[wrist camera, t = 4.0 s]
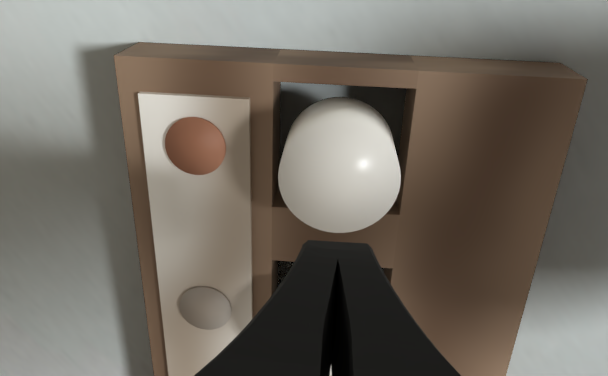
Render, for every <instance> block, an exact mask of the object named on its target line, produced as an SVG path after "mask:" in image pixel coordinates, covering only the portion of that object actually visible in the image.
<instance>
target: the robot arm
mask: <svg viewBox="0 0 608 376" xmlns="http://www.w3.org/2000/svg"><path fill="white" fill-rule="evenodd" d="M330 368H331V369H332V376H461V375H460V374H459V373H458V372H457V371H456V369H455V368H454V367H453V366H452V365H451V364H450V363H449V362H448V361H447V360H446V359H445V357H444V356H443V355H442V354H441V353H440V352H439V350H438V349H437V348H436V347H435V346H434V345H433V343H432V342H431V341H430V340H429V338H428V337H427V336H426V334H425V333H424V332H423V331H422V329H421V328H420V327H419V325H418V324H417V323H416V321H415V320H414V319H413V317H412V316H411V314H410V313H409V312H408V310H407V309H406V307H405V306H404V304H403V303H402V301H401V300H400V298H399V297H398V295H397V294H396V292H395V291H394V289H393V287H392V286H391V284H390V282H389V281H388V279H387V277H386V275H385V274H384V272H383V270H382V268H381V266H380V264H379V262H378V260H377V258H376V256H375V254H374V252H373V249H372V248H371V247H370V246H369V245H368V243H351V242H334V241H318V240H308V241H307V242H305V243H304V244H303V245H302V248H301V250H300V252H299V254H298V256H297V258H296V260H295V262H294V263H293V265H292V267H291V268H290V270H289V271H288V273H287V275H286V276H285V277H284V279H283V280H282V282H281V283H280V285H279V286H278V287H277V289H276V290H275V292H274V293H273V294H272V296H271V297H270V298H269V300H268V301H267V302H266V303H265V304H264V306H263V307H262V308H261V309H260V310H259V312H258V313H257V314H256V315H255V316H254V318H253V319H252V320H251V321H250V322H249V324H248V325H247V326H246V327H245V328H244V329H243V330H242V331H241V332H240V333H239V334H238V335H237V336H236V337H235V338H234V340H233V341H232V342H230V343H229V344H228V345H227V346H226V347H225V348H224V349H223V350H222V351H221V352H220V353H219V354H218V355H217V356H216V357H215V358H214V359H212V360H211V361H210V362H209V363H208V364H207V365H206V366H204V367H203V368H202V369H201V370H200V371H199V372H197V373H196V374H195V375H194V376H329V375H330Z"/></svg>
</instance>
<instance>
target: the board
mask: <svg viewBox="0 0 608 376" xmlns="http://www.w3.org/2000/svg"><path fill="white" fill-rule="evenodd" d="M114 61H115V69H116V77H117V85H118V93H119V101H120V109H121V117H122V125H123V133H124V141H125V149H126V157H127V165H128V173H129V181H130V189H131V197H132V205H133V213H134V220H135V228H136V236H137V244H138V252H139V260H140V268H141V276H142V284H143V292H144V300H145V308H146V316H147V324H148V332H149V340H150V348H151V356H152V364H153V372H154V376H194V375H195V374H196V373H197V372H199V371H200V370H201V369H202V368H203V367H204V366H206V365H207V364H208V363H209V362H210V361H211V360H212V359H214V358H215V357H216V356H217V355H218V354H219V353H220V352H221V351H222V350H223V349H224V348H225V347H226V346H227V345H228V344H229V343H230V342H232V341H233V340H234V338H235V337H236V336H237V335H238V334H239V333H240V332H241V331H242V330H243V329H244V328H245V327H246V326H247V325H248V324H249V322H250V321H251V320H252V319H253V318H254V316H255V315H256V314H257V313H258V312H259V310H260V309H261V308H262V307H263V306H264V304H265V303H266V302H267V301H268V300H269V298H270V297H271V296H272V294H273V293H274V292H275V290H276V289H277V287H278V261H292V262H295V260H296V258H297V256H298V254H299V252H300V250H301V248H302V245H303V244H304V243H305V242H307V241H308V240H318V241H334V242H351V243H368V245H369V246H370V247H371V248H372V249H373V252H374V254H375V256H376V258H377V260H378V262H379V264H380V266H381V268H384V274H385V275H386V277H387V279H388V281H389V282H390V284H391V286H392V287H393V289H394V291H395V292H396V294H397V295H398V297H399V298H400V300H401V301H402V303H403V304H404V306H405V307H406V309H407V310H408V312H409V313H410V314H411V316H412V317H413V319H414V320H415V321H416V323H417V324H418V325H419V327H420V328H421V329H422V331H423V332H424V333H425V334H426V336H427V337H428V338H429V340H430V341H431V342H432V343H433V345H434V346H435V347H436V348H437V349H438V350H439V352H440V353H441V354H442V355H443V356H444V357H445V359H446V360H447V361H448V362H449V363H450V364H451V365H452V366H453V367H454V368H455V369H456V371H457V372H458V373H459V374H460V375H461V376H506V373H507V369H508V365H509V362H510V358H511V355H512V351H513V347H514V344H515V340H516V337H517V333H518V329H519V326H520V322H521V318H522V315H523V311H524V308H525V304H526V300H527V297H528V293H529V290H530V286H531V282H532V279H533V275H534V271H535V268H536V264H537V261H538V257H539V253H540V250H541V246H542V243H543V239H544V235H545V232H546V228H547V224H548V221H549V217H550V214H551V210H552V206H553V203H554V199H555V196H556V192H557V188H558V185H559V181H560V177H561V174H562V170H563V167H564V163H565V159H566V156H567V152H568V149H569V145H570V141H571V138H572V134H573V130H574V127H575V123H576V120H577V116H578V112H579V109H580V105H581V102H582V98H583V94H584V91H585V87H586V83H587V80H588V79H586V78H585V77H583V76H581V75H580V74H578V73H576V72H575V71H573V70H571V69H570V68H568V67H566V66H565V65H563V64H561V63H553V62H533V61H512V60H492V59H472V58H451V57H431V56H410V55H390V54H369V53H349V52H328V51H308V50H287V49H267V48H246V47H226V46H205V45H185V44H164V43H144V42H139V43H137V44H135V45H133V46H131V47H129V48H127V49H125V50H123V51H121V52H120V53H118V54H116V55H114ZM281 82H295V83H314V84H333V85H353V86H372V87H391V88H407V89H406V97H405V105H404V113H403V121H402V129H401V137H400V146H399V154H398V162H399V166H400V173H401V184H400V189H399V193H398V195H397V198H396V200H395V202H394V204H393V205H392V207H391V208H390V210H389V211H388V212H387V213H386V214H385V215H384V216H383V217H382V218H381V219H380V220H378V221H377V222H375V223H374V224H372V225H370V226H368V227H366V228H364V229H361V230H358V231H353V232H347V233H332V232H326V231H322V230H318V229H316V228H313V227H311V226H309V225H307V224H305V223H304V222H302V221H301V220H300V219H298V218H297V217H296V216H295V215H294V214H293V213H292V212H291V211H290V210H289V208H288V207H287V205H286V204H285V202H284V200H283V198H282V195H281V193H280V189H279V184H278V171H279V158H280V88H281Z"/></svg>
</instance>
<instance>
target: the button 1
mask: <svg viewBox="0 0 608 376" xmlns="http://www.w3.org/2000/svg"><path fill="white" fill-rule="evenodd" d="M278 184H279V189H280V193H281V195H282V198H283V200H284V202H285V204H286V205H287V207H288V208H289V210H290V211H291V212H292V213H293V214H294V215H295V216H296V217H297V218H298V219H300V220H301V221H302V222H304V223H305V224H307V225H309V226H311V227H313V228H316V229H318V230H322V231H326V232H332V233H347V232H353V231H358V230H361V229H364V228H366V227H368V226H370V225H372V224H374V223H375V222H377V221H378V220H380V219H381V218H382V217H383V216H384V215H385V214H386V213H387V212H388V211H389V210H390V208H391V207H392V205H393V204H394V202H395V200H396V198H397V195H398V193H399V189H400V184H401V173H400V166H399V162H398V158H397V154H396V149H395V145H394V141H393V137H392V132H391V130H390V127H389V125H388V124H387V122H386V120H385V119H384V118H383V116H382V115H381V114H380V113H379V112H378V111H377V110H376V109H374V108H373V107H372V106H370V105H368V104H367V103H365V102H362V101H360V100H357V99H353V98H347V97H333V98H327V99H324V100H321V101H318V102H316V103H314V104H312V105H310V106H309V107H307V108H306V109H305V110H303V111H302V112H301V113H300V114H299V115H298V117H297V118H296V119H295V121H294V122H293V124H292V126H291V128H290V131H289V133H288V137H287V140H286V144H285V147H284V151H283V154H282V158H281V161H280V166H279V171H278Z"/></svg>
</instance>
